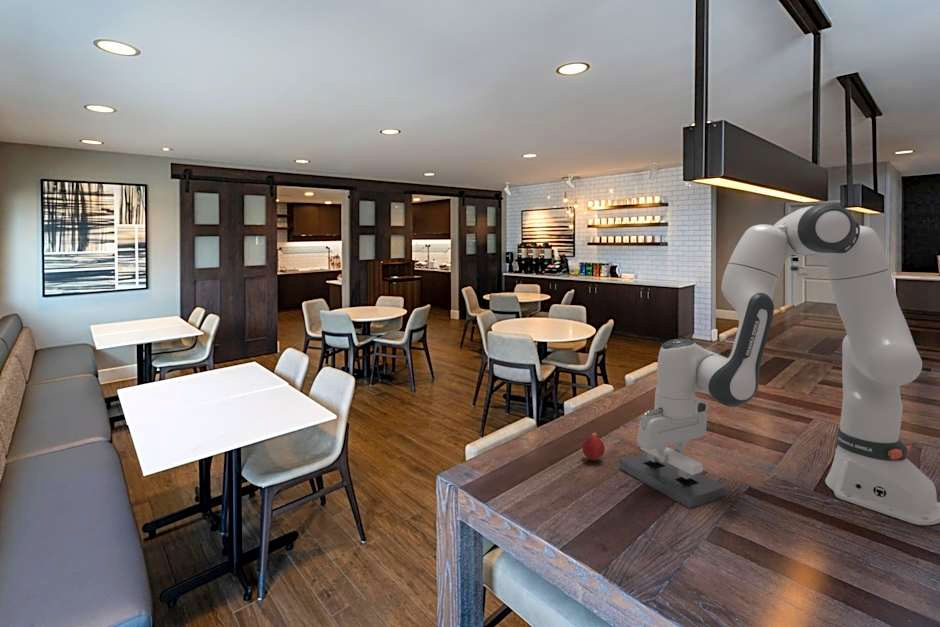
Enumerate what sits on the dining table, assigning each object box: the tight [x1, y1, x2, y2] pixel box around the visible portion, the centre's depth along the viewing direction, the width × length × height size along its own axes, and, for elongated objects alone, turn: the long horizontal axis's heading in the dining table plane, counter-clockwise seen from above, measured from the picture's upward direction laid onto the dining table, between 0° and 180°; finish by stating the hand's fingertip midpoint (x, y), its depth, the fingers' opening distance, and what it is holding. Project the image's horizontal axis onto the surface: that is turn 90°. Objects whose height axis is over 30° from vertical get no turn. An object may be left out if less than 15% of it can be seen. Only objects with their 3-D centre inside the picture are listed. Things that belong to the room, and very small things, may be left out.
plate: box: [619, 452, 727, 509], centre depth 125 cm, size 22×12×2 cm, turn 27°
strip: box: [640, 446, 704, 479], centre depth 125 cm, size 16×4×4 cm, turn 27°
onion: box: [581, 432, 606, 462], centre depth 137 cm, size 6×6×8 cm
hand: (670, 458), depth 125 cm, fingers closed on strip, 3 cm apart
